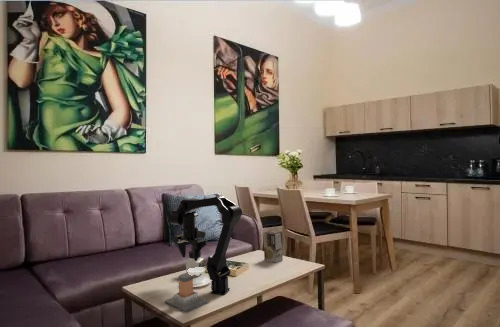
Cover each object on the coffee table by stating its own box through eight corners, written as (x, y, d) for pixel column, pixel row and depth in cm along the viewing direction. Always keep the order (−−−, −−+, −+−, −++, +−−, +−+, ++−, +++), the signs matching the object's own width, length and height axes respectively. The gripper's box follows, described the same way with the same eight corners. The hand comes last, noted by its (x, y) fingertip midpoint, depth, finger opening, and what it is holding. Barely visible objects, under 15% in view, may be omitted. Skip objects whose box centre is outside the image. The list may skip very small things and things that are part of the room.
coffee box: (283, 260, 183) (282, 232, 183) (276, 263, 178) (275, 234, 178) (270, 257, 189) (270, 230, 189) (263, 260, 184) (263, 232, 184)
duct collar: (207, 302, 129) (207, 293, 129) (185, 312, 121) (185, 302, 121) (186, 294, 138) (186, 285, 138) (164, 302, 130) (164, 293, 130)
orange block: (193, 300, 130) (192, 275, 130) (185, 303, 127) (184, 278, 127) (187, 297, 133) (186, 273, 133) (179, 301, 130) (178, 276, 130)
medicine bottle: (199, 276, 160) (198, 252, 160) (186, 275, 161) (185, 252, 161) (204, 271, 167) (203, 248, 167) (191, 271, 168) (190, 248, 168)
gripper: (215, 225, 149) (216, 258, 149) (190, 221, 162) (191, 251, 162) (196, 229, 141) (197, 264, 141) (171, 224, 153) (172, 257, 153)
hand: (189, 259), depth 149 cm, fingers open, 9 cm apart
